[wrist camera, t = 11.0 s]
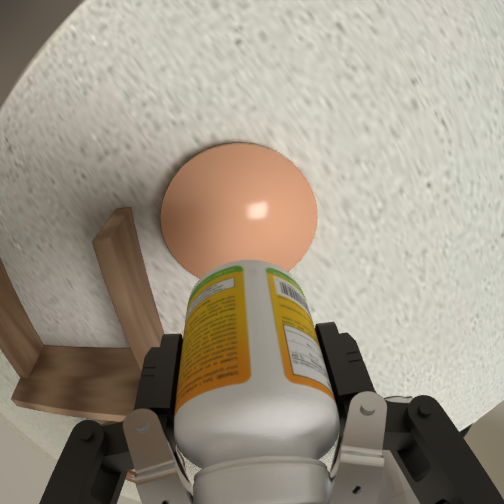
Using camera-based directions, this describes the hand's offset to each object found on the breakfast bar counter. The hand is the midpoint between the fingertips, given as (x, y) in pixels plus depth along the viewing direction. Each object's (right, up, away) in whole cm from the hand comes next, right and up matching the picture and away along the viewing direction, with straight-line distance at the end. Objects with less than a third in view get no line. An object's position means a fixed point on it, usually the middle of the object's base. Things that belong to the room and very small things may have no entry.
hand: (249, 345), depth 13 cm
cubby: (-16, 0, +13) cm, 21 cm away
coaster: (-1, +6, +10) cm, 12 cm away
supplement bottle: (0, +1, +2) cm, 3 cm away
